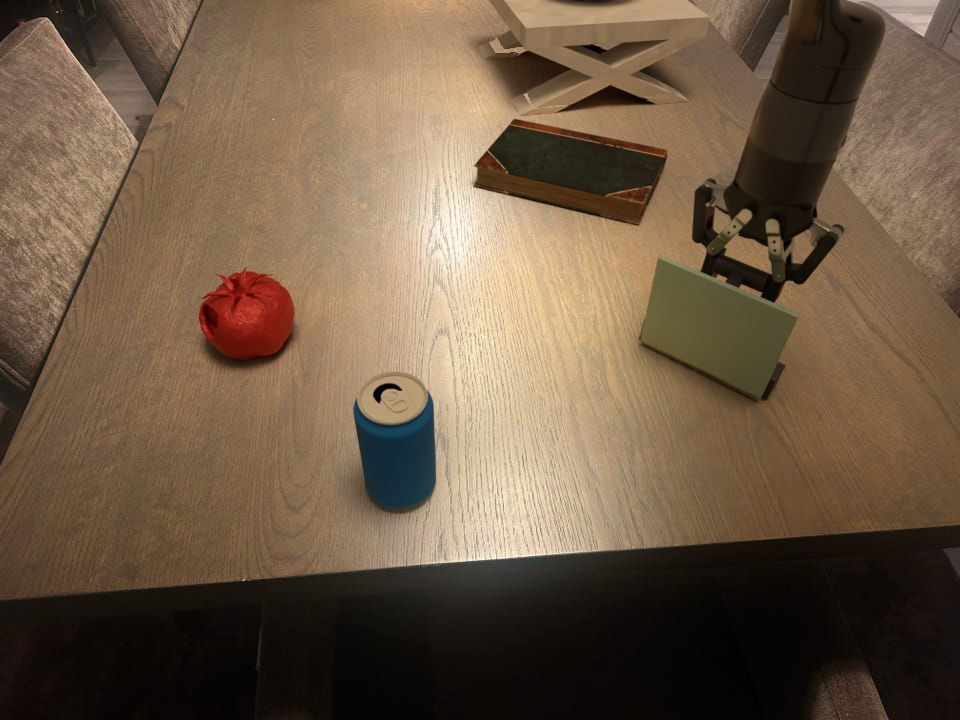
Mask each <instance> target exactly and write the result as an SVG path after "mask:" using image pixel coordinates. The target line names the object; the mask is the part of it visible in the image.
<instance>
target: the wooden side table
mask: <svg viewBox="0 0 960 720" xmlns="http://www.w3.org/2000/svg"><path fill="white" fill-rule="evenodd" d="M488 2H489V3H490V4H491V6H492V7H493V8H494V9H495V11H496V13H498V15H499V16H500V18H501V19H502V21H503V22H504V23H505V25H506V26H507V28H508V29H509V30H507V31H506V32H504V33H502V34H501V35H498V36H497V38H498V40H499V41H500V44H501V46H503V48H504V49H510V48H516V47H524V49H526V50H528V51H527V52H531V53H533V54H535V55H538V56H541V57H543V58H545V59H547V60H550V61H552V62H555V63H557V64H560V65H562V66H564V67H567V68H569V69H568V70H566V71H564V72H562V73H560V74H559V75H556V76H554V77H553V78H550V79H549V80H546V81H545V82H543V83H541V84H539V85H537V86H534V87H533V88H531V89H529V90H527V91H526V92H527V94H528V97H529V98H530V101H531V104H532V105H533V108H540V109H533V108H532V107H531V105H530V104H529V102H528V101H527V99H526V98H525V96H524V95H523V93H521V94H519V95H517V96H515V97H512V98H511V99H510V102H511V104H512V105H513V107H514V109H515V110H516V112H517V113H518V115H519V116H520V117H521V116H535V115H544V114H556V113H557V112H559V111H561V110H563V109H566V108H567V107H568V108H569V106H564V107H552V108H542V107H548V106H556V105H567V104H571V105H573V104H575V103H577V102H580V101H581V100H583V99H585V98H588V97H589V96H591V95H594V94H595V93H597V92H599V91H601V90H603V89H605V88H607V87H609V86H612V87H614V88H616V89H619V90H622V91H624V92H627V93H628V94H631V95H634V96H636V97H638V98H641V97H643V96H655V95H665V94H671V93H670V92H669V91H668V90H667V89H665V88H664V87H663V86H662V85H661V84H660V83H659V82H658V81H657V80H658V79H657V78H655V77H652V76H650V75H647V74H646V73H644V72H641V70H643V69H645V68H647V67H649V66H650V65H652V64H654V63H658V62H659V61H661V60H663V59H664V58H666V57H668V56H671V55H672V54H674V53H676V52H678V51H680V50H683V49H684V48H686V47H689V46H690V45H692V44H694V43H696V42H698V41H700V40H702V39H705V38H706V36H707V32H708V27H709V24H710V19H711V16H710V15H708V14H707V13H705V12H704V11H703V10H701V8H699V7H698V6H696V5H695V4H694V3H692V2H691V1H689V0H488ZM622 42H623V43H622ZM606 43H621V44H619V45H617V46H615V47H613V48H611V49H609V50H607V51H605V50H604V51H603V52H601V53H598V52H595V51H594V50H591V49H589V48H586V47H584V46H592V45H591V44H606ZM478 50H479V52H480V53H481V55H482V56H483V59H485V60H493V59H507V58H517V57H519V56H520V55H518V54H519V53H516V52H510V53H495V51H494V50H493V48H492V47H491V45H490V43H489V41H487V42H485V43H483V44H481V45H479V46H478ZM514 53H515V54H514ZM656 79H657V80H656ZM677 90H678V89H677ZM677 90H676V91H674V93H675V94H676V95H677V96H678V97H674V98H661V99H649V100H647V101H648V102H651V103H653V104H655V105H665V104H675V103H687V102H690V101H689V100H688V99H687V97H685V96H684V95H683V94H682V93H681V92H680V90H678V93H677Z"/></svg>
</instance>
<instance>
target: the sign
mask: <svg viewBox="0 0 960 720" xmlns="http://www.w3.org/2000/svg"><path fill="white" fill-rule="evenodd" d="M712 272H713V273H716V274H718V276H720V277H723V278H725V281H723V280H720V279H718V278H717V277H716V278H714V277H712V276H709V275H707V274H704V273H702V272H701V270H697V269H695V268H694V267H693V268H692V267H691V266H688V265H685V264H683V263H681V262H678V261H676V260H673V259H671V258H669V257H668V256H667V257H666V256H664V255H662V254H660V255H659V256H658V257H657V261H656V266H655V270H654V275H653V279H652V285H651V289H650V293H649V298H648V303H647V307H646V311H645V317H644V319H645V321H644V320H643V322H644V326H643V325H642V326H643V330H642V329H641V330H642V335H641V339H640V340H641V341H642V342H644V343H646V344H648V345H650V346H652V347H654V348H656V349H658V350H661V351H663V352H664V353H666V354H668V355H671V356H673V357H674V358H677V359H679V360H681V361H683V362H684V363H687V364H689V365H691V366H693V367H695V368H696V369H699V370H700V371H703V372H705V373H707V374H710V375H711V376H713V377H715V378H717V379H719V380H721V381H723V382H725V383H728V384H730V385H732V386H734V387H735V388H738V389H740V390H742V391H744V392H746V393H748V394H750V395H752V396H754V397H755V398H758V399H762V398H761V397H762V395H763V393H764V391H765V389H766V387H767V385H768V382H769V380H770V378H771V376H772V374H773V372H774V369H775V367H776V365H777V363H778V362H780V358H781V357H782V354H783V352H784V350H785V348H786V346H787V343H788V341H789V339H790V337H791V335H792V332H793V331H794V328H795V326H796V324H797V321H798V319H799V317H800V315H801V314H800V313H799V312H796V311H794V310H792V309H790V308H787V307H784V306H783V305H780V304H778V303H776V302H775V303H773V302H771V301H768V300H766V299H763V298H761V296H759V295H756V294H754V293H752V292H749V291H747V290H745V289H743V288H740V287H741V286H744V287H747V288H749V289H752V290H754V291H757V292H759V293H761V294H762V292H763V290H764V287H765V285H766V282H767V280H768V278H769V277H770V276H771V274H772V273H770V272H768V271H764V270H762V269H760V268H757V267H755V266H752V265H750V264H748V263H745V262H742V261H740V260H737V259H735V258H733V257H730V256H727V255H726V254H725V255H723V254H721V255H719V257H718V258H717V260H716V262H715V264H714V266H713V269H712Z"/></svg>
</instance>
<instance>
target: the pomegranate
mask: <svg viewBox="0 0 960 720" xmlns="http://www.w3.org/2000/svg"><path fill="white" fill-rule="evenodd" d="M247 269H248V266H246V267H244V268H243V269H242V272H237V271H236V272H233V273H232V274H230V275H229V276H225V275H222V274H218V273H215V275H216V276H217V277H220V279H221V281H222V283H221V284H219V285H218V287H216V289H215V291H209V292H208V293H206V294H205V296H202V297H200V299H201V300H203V301H202V303H201V304H200V307H199V312H198V322H199V325H200V329H201V332H202V333H203V336H204V337H205V339H206V340H207V341H208V343H209V344H211V345H212V346H213V347H214V348H215V349H216V350H217V351H218V352H220V353H221V354H223V355H224V356H226V357H228V358H230V359H231V358H232V359H236V360H243V361H245V360H246V361H247V360H250V359H254V358H256V357H261V356H262V357H268V356H271V355H274V354H276V353H277V352H278V351H280V349H281V348H282V347H283V346H284V344H285V342H286V341H287V340H288V338H289V337H290V336H291V334H292V332H293V328H294V321H295V316H296V310H295V309H296V308H295V304H294V300H293V298H292V295H291V294H290V292H289V290H288V289H287V288H286V287H285V286H283V285H282V284H281V282H280V281H278V280H276V279H274V278H272V277H269V276H274V275H275V273H272V274H268V273H257V272H256V271H250V270H247Z"/></svg>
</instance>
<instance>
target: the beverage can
mask: <svg viewBox="0 0 960 720" xmlns="http://www.w3.org/2000/svg"><path fill="white" fill-rule="evenodd" d="M434 406H435V405H434V399H433V397H432V395H431V393H430V391H429V390H428V389H427V387H426V385H425V383H424V382H423V381H422V380H421V379H419V377H417V376H416V375H414V374H411V373H409V372H404V371H400V370H399V371H397V370H393V371H385V372H381V373H378V374H375V375H373V376H371V377H369V378H368V379H367V380H365V382H364V383H363V384H362V385H361V386H360V388H359V390H358V392H357V396H356V398H355V401H354V404H353V411H352V412H353V413H352V414H353V419H354V425H355V429H356V430H355V431H356V437H357V443H358V450H359V454H360V455H359V456H360V460H361V467H362V472H363V473H362V474H363V479H364V485H365V489H366V491H367V494H368V495H369V497H370V498H371V499H372V500H373V501H374V502H375V503H376V504H378V505H380V506H382V507H385V508H388V509H393V510H405V509H410V508H412V507H413V508H414V507H416V506H419V504H421V503H423V502H424V501H426V499H428V498H429V497H430V495H431V494H432V493H433V491H434V489H435V486H436V483H437V459H436V433H435V407H434Z"/></svg>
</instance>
